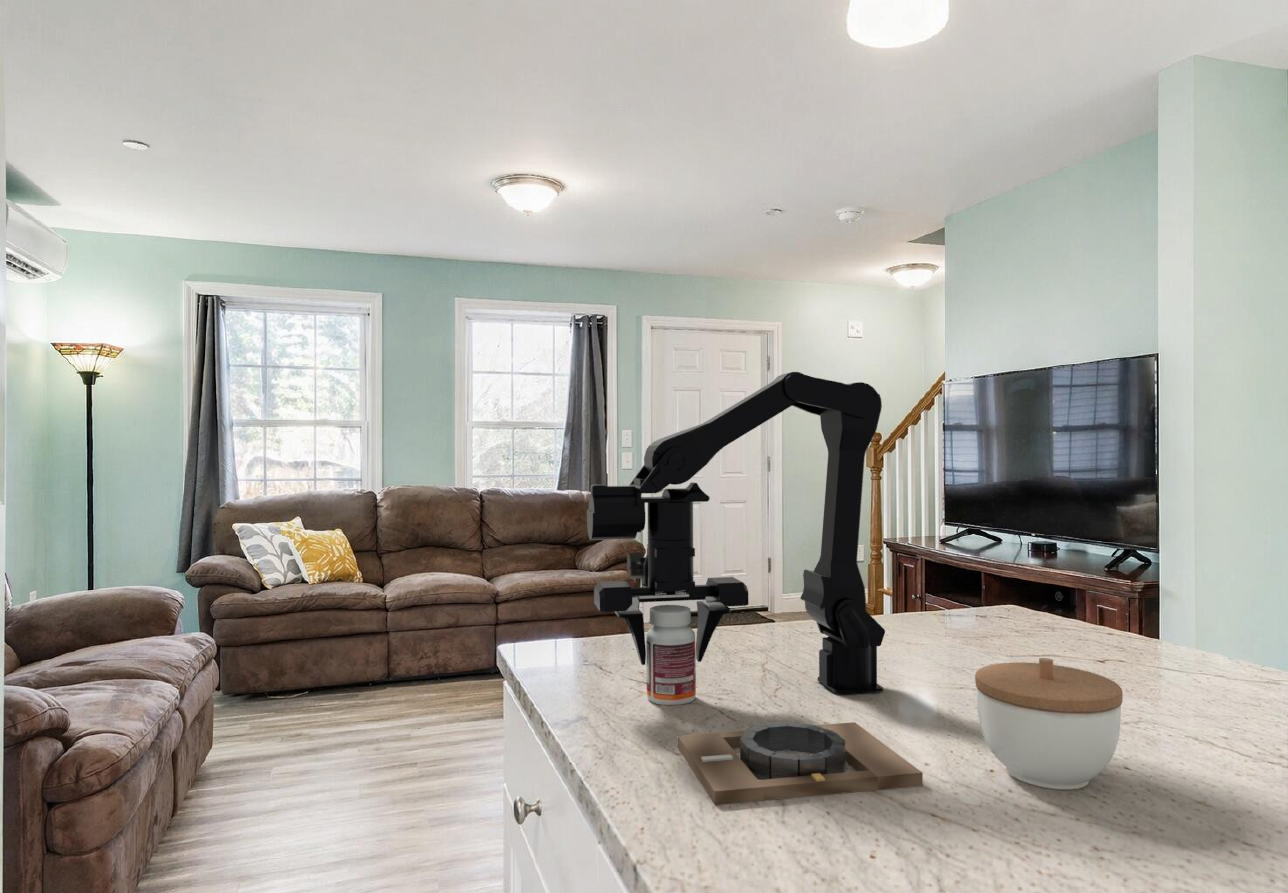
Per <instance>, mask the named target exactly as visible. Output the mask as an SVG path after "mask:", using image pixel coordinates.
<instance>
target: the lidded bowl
mask: <svg viewBox="0 0 1288 893" xmlns="http://www.w3.org/2000/svg"><path fill="white" fill-rule="evenodd" d="M974 681H975V682H974V684H975V687H976V705H977V706H976V708H977V715H978V720H979V725H980V730H981V734H982V736H983V738H984V741H985V743H986V745H987V746H988V749H990V752H992V754H993V755H994V757H995V758H996V759H997V760H998V761H999V762H1000V763H1001V764H1002V765H1003V766H1005V771H1006V772H1007V774H1009V776H1011V777H1012V778H1014V779H1015V780H1017V781H1020V782H1022V783H1025V784H1028V785H1031V786H1034V787H1038V788H1043V789H1049V790H1050V789H1051V790H1057V791H1059V790H1060V791H1073V790H1080V789H1083V788H1085V787H1087V786H1088V785H1089V784H1090V780H1092V779H1094V778H1095V777H1097V776H1098V775H1100V773H1101V772H1102V771H1104V770H1105V769H1106V768H1107V767H1108V765H1109V764H1110V762H1111V761H1112V759H1113V757H1114V755H1115V752H1116V750H1117V746H1118V742H1119V739H1120V733H1121V724H1122V722H1121V721H1122V703H1123V700H1124V699H1123V698H1124V697H1123V696H1124V695H1123V694H1124V693H1123V688H1122V687H1121V686H1120V685H1119V683H1117V682H1116V681H1114V680H1112V679H1111V678H1108V677H1106V676H1103V675H1100V674H1097V673H1094V672H1092V671H1087V670H1082V669H1079V668H1075V667H1070V666H1069V667H1068V666H1064V665H1057V664H1054V659H1052V658H1048V657H1040V658H1038V662H1037V663H1036V662H1004V663H1003V662H1002V663H1001V662H999V663H995V664H994V663H993V664H988V665H986V666H983V667H981V668H979V669H977V670H976V672H975V674H974ZM1077 788H1078V789H1077Z"/></svg>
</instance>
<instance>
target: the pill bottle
mask: <svg viewBox="0 0 1288 893" xmlns="http://www.w3.org/2000/svg"><path fill="white" fill-rule="evenodd" d="M691 614H692V613H691V607H689V606H686V605H680V604H663V605H661V604H660V605H656V606H652V607H650V609H649V623H650V625H653V626H651V627H650V628H649V630H648V631H647V632H646V636H645V648H646V661H645V665H646V695H647V696H646V697H647V699H648V700H649V701H650V702H652V703H654V704H658V705H661V706H679V705H685V704H689V703H691V702H693V701H694V700H695V699H696V693H697V689H696V688H697V685H696V684H697V682H696V681H697V680H696V679H697V676H696V674H697V670H696V668H697V666H696V664H697V663H696V662H697V660H696V634H695V631H694V630H693V629H692V628H691V627H690V626H688V625H690V624H691V623H692V618H691V616H692V615H691Z"/></svg>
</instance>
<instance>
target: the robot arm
mask: <svg viewBox="0 0 1288 893" xmlns="http://www.w3.org/2000/svg"><path fill="white" fill-rule="evenodd" d="M882 403H883V402H882V398H881V395H880V393H878V391H877V390H876V389H875V388H874V387H873V386H872V385H870V384H869V383H866V382H860V381H859V382H851V383H847V384H846V383H843V382H840V381H836V380H835V381H834V380H829V379H825V378H820V377H814V376H811V375H808V374H804V373H803V372H799V371H791V372H787V373H783V374H780V375H778V376H777V377H776V378H774V380H772V382H770V383H768V384H767V385H765V386H763V387H761V388H760V389H757V391H755V392H753V393H751V394H749V395H748V396H747V397H744V398H743V399H741V400H740V401H738V402H736V403H735V404H733V405H731V406H730V407H728V408H726V409H725V410H723V411H721V412H720V413H718V414H716V415H715V416H713V417H712V418H710V419H707V420H706V421H704V422H703V423H700V424H698V425H696V426H691V427H690V428H687V429H684V430H680V431H677V432H675V433H672V434H670V435H667V436H664V437H662V438H660V439H656V440H654V441H653V442H652V443H651V444H649V445H648V446H647V448H646V450H645V453H644V458H643V463H644V464H643V465H642V467H641V468H640V469H639V471H638V472H637V474H636V475H635V477H633V479H632V481H631V482H630V483H629V485H604V484H591V485H590V489H589V490H590V491H589V492H590V494H589V499H588V509H587V510H586V521H587V526H586V527H587V533H588V534H587V535H588V538H589V541H602V540H603V541H605V540H610V541H611V540H635V539H636V537H637V534H638V533H642V531H644V530H645V528H646V504H647V544H646V546H647V547H646V556H644V553H643V552H628V553H627V555H626V556H627V558H626V570H627V571H626V572H627V579H629V580H630V579H633V580H635V579H636V580H637V579H641V586H637V587H632V586H631V585H630V584H629V583H628V582H627V581H625V580H615V581H613V580H611V581H598V582H597V583H596V585H595V586H594V587H593V588H594V589H593V604H594V605H595V607H596V608H597V610H598V611H599V612H603V613H611V612H614V613H615V616H617V617H618V618H619V619H624V621H625V624H626V625H627V627H628V629H629V632H630V633H631V634H630V635H631V637H632V640H633V644H634V645H635V646H634V647H635V650H636V653H637V656H638V659H639V661H640V664H641V665H642V666H645V665H646V636H645V624H644V613H643V612H642V611H641V610H640V609H639V606H640V603H657V602H659V603H660V602H681V601H696V609H697V628H696V637H695V651H696V652H695V657H696V662H698V663H701V662H702V660H703V658H704V657H705V654H706V652H707V651H706V650H707V649H708V646H709V643H710V642H711V639H712V637H713V635H714V632H715V630H716V628H717V626H718V625H719V623H720V621H721V619H722V618H723V616H724V614H730V613H731V608H730V607H743V606H744V607H745V606H749V588H748V586H747V585H746V584H745V583H744V582H743V581H741V580H739V579H738V578H735V577H733V576H727V577H726V576H724V577H723V576H722V577H707V580H706V584H696V581H695V580H694V558H695V557H696V548H695V547H694V503H696V502H697V503H699V502H700V503H702V502H703V503H705V502H707V503H708V502H709V501H710V499H711V498H710V496H709V495H708V494H707V493H705V492H704V491H703V490H702V489H701V488H700V486H699V484H698V483H697V482H693V481H692V482H690V483H689V485H687V486H686V487H685V488H667V486H669V485H673V486H674V485H676V486H677V485H681V484H684V483H686V482H688V481H689V480H691V479H692V478H693V477H694V476H696V474H698V473H699V472H700V471H701V470H702V469H703V468H705V467H706V465H708V464H709V463H710V461H711V460H712V459H713V458H714V457H715V456H716V454H718V453H719V452H720V451H721V450H722V449H723V448H725V447H726V446H728V445H730V444H731V443H732V442H734V441H736V440H738V439H739V438H741V437H742V436H744V435H746V434H747V433H749V432H751V431H753V430H755V429H756V428H758V427H759V426H761V425H762V424H764V423H766V422H767V421H769V420H771V419H772V418H774V417H776V416H778V415H779V414H780V413H783V412H784V411H785V410H787V409H789V408H791V407H795V408H797V409H799V410H802V411H803V412H806V413H809V414H812V415H816V416H819V418H820V420H819V421H820V428H821V433H822V437H823V439H824V442H825V446H826V447H827V466H826V477H825V478H826V479H825V494H824V504H823V506H824V507H823V518H822V519H823V522H822V533H821V546H820V556H819V560H818V562H817V564H816V566H815V567H814V569H813V570H810V569H804V570H803V573H802V576H803V577H802V578H803V590H802V593H801V595H800V600H801V601H803V602H804V607H805V608H804V609H805V611H806V614H808V616H809V617H810V618H811V620H813V621H815V622H816V626H817V628H818V631H819V633H821V634H822V635H825V636H827V637H822V649H819V651H818V670H819V671H818V676H817V682H819V683H820V684H822V685H823V686H824V687H826V688H827V689H829V690H830V691H831V692H833V693H834V694H837V695H846V694H847V695H849V694H861V693H862V694H863V693H877V692H879V693H880V692H883V691H884V687H883V686H882V685H880V684H878V647H881V645H882V643H883V640H884V636H885V633H886V629H885V628H884V627H883V626H882V625H881V624H879V622H878V621H877V620H876V619H875V618H874V617H872V615H871V614H870V613H869V612H868V610H867V599H866V587H865V584H864V580H863V577H862V574H861V571H860V568H859V565H858V555H859V554H858V553H859V552H858V551H859V538H860V524H861V512H862V511H861V510H862V498H863V496H862V495H863V487H864V486H863V484H864V471H865V457H866V456H865V455H866V453H867V450H868V448H869V446H870V445H871V443H872V440H873V438H874V436H875V434H876V433H877V429H878V425H879V421H880V417H881V412H882V407H883V405H882ZM663 489H664V490H663ZM662 490H663V492H662V494H661V496H642V494H657V493H659V492H661V491H662Z"/></svg>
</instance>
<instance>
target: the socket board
mask: <svg viewBox="0 0 1288 893" xmlns="http://www.w3.org/2000/svg"><path fill="white" fill-rule="evenodd" d="M677 748H678V750H679V752H680V753H681V754H682V756H683V757H684V759H685V761H686V763H687V764H688V766H689V767H690V769H691V770H692V772H693V774H694V775H695V776H696V778H697V780H698V781H699V783H700V784H701V785H702V787H703V788H704V790H705V792H706V793H707V795H708V796H709V798H710V800H711V801H712V802H713V805H715V806H717V805H719V806H720V805H728V804H729V805H730V804H738V803H741V804H742V803H751V802H760V801H771V800H780V799H781V800H782V799H783V800H784V799H791V798H792V799H793V798H795V799H796V798H803V797H805V798H806V797H813V796H814V797H815V796H826V795H835V794H836V795H837V794H838V795H839V794H846V793H857V792H858V793H859V792H868V791H869V792H870V791H878V790H888V789H890V790H891V789H900V788H901V789H902V788H911V787H912V788H913V787H922V786H923V784H924V780H923V778H924V777H923V771H921V770H920V769H919V768H917V767H916V766H914V765H913V764H912V763H910V762H909V761H908V760H906V759H905V758H904V757H902V756H901V755H900V754H898V753H897V752H896V751H894V750H893V749H891V748H890V747H889V746H887V745H886V744H885V743H883V742H882V741H881V740H880V739H878V738H876V737H875V736H874V735H873V734H871V733H870V732H869V731H867V730H866V729H865V728H863V727H862V726H860V725H859V724H858V723H857V722H855V721H854V722H841V723H839V722H838V723H830V724H829V723H827V724H826V723H825V724H810V723H799V722H790V721H788V722H786V721H784V722H783V721H781V722H769V723H768V722H767V723H761V724H758V725H755V726H752V727H750V728H746V729H745V730H733V731H723V732H706V733H705V732H704V733H695V734H693V733H692V734H681V735H677ZM734 749H739V755H738V754H737V752H736V751H735V750H734ZM780 751H783V752H784V751H793V752H801V753H805V754H791V753H783V752H780ZM846 763H847V764H848V765H849V767H851V768H852V769H853V770H855V771H847V772H845V771H846V766H847V764H846Z"/></svg>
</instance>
